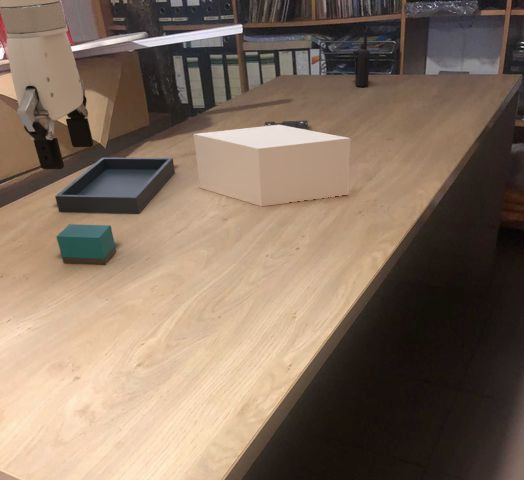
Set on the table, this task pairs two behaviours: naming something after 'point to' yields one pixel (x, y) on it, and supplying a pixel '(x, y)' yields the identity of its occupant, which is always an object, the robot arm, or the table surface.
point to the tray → (116, 185)
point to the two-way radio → (362, 63)
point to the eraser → (86, 244)
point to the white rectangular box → (273, 164)
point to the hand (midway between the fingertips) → (68, 157)
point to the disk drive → (290, 124)
